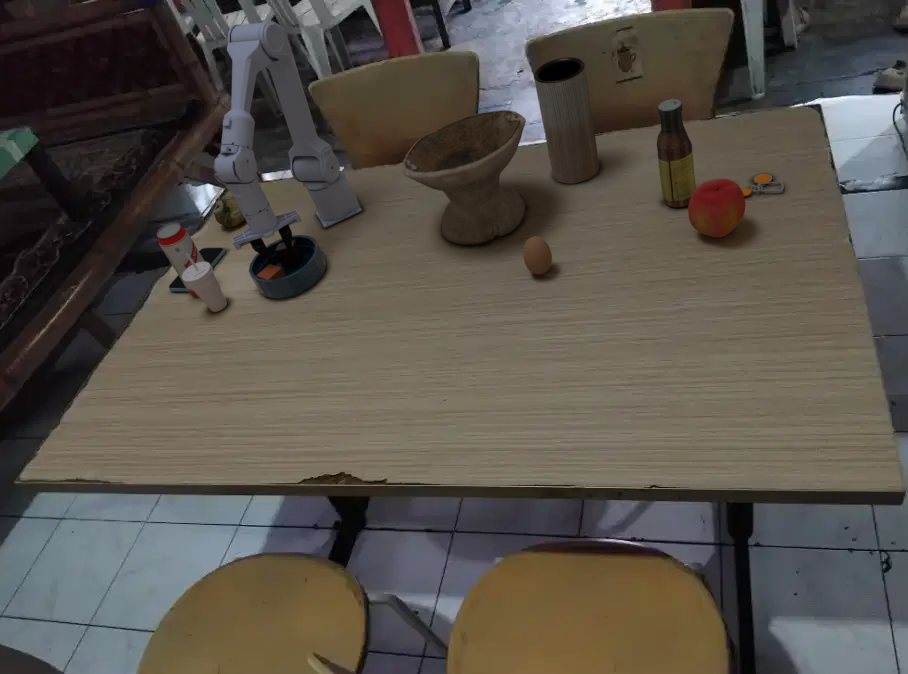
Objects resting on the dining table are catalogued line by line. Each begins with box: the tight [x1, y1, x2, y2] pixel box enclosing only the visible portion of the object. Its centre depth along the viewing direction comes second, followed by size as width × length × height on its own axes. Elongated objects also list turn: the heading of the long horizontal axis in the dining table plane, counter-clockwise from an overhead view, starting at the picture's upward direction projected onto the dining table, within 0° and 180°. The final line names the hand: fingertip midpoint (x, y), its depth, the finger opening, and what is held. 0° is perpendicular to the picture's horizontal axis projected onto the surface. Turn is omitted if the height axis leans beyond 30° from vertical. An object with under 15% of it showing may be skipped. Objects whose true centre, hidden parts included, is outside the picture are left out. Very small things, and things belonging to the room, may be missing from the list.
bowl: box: [401, 109, 527, 246], centre depth 147 cm, size 26×25×20 cm
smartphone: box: [167, 247, 226, 292], centre depth 169 cm, size 7×1×15 cm
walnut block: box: [275, 239, 302, 267], centre depth 159 cm, size 4×4×4 cm
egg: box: [522, 235, 553, 275], centre depth 135 cm, size 5×5×8 cm
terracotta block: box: [257, 264, 286, 280], centre depth 154 cm, size 4×4×4 cm
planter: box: [533, 56, 600, 184], centre depth 150 cm, size 10×10×23 cm
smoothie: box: [182, 253, 228, 313], centre depth 152 cm, size 6×6×14 cm
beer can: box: [156, 222, 205, 297], centre depth 157 cm, size 6×6×16 cm
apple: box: [687, 178, 746, 238], centre depth 129 cm, size 10×10×10 cm
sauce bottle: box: [656, 98, 697, 208], centre depth 135 cm, size 6×6×20 cm
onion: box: [212, 195, 245, 228], centre depth 178 cm, size 8×8×8 cm
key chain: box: [712, 173, 785, 197], centre depth 138 cm, size 13×7×1 cm, turn 76°
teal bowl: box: [248, 234, 327, 300], centre depth 156 cm, size 15×15×5 cm
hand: (283, 262), depth 157 cm, fingers open, 3 cm apart
